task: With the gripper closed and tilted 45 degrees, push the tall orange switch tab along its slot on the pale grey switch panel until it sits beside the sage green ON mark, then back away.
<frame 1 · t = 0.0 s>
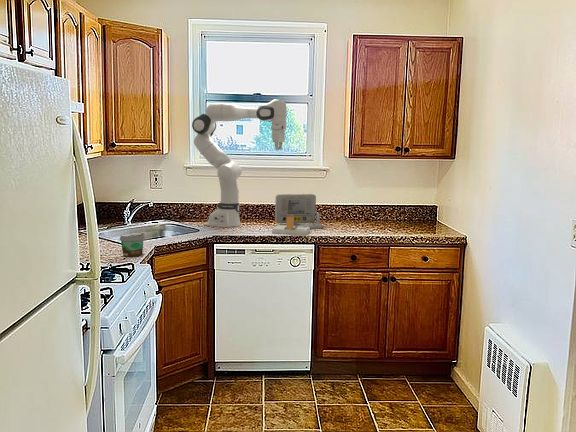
hand: (278, 149, 334), 48 cm above the countertop, tool pointing down, fingers open, 8 cm apart
food container: (135, 256, 257), on the countertop
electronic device: (310, 228, 344), on the countertop
switch tab: (290, 221, 323), point 7 cm above the countertop, slide at 0.0 cm
network device: (295, 225, 351), on the countertop
switch panel: (291, 232, 328), on the countertop
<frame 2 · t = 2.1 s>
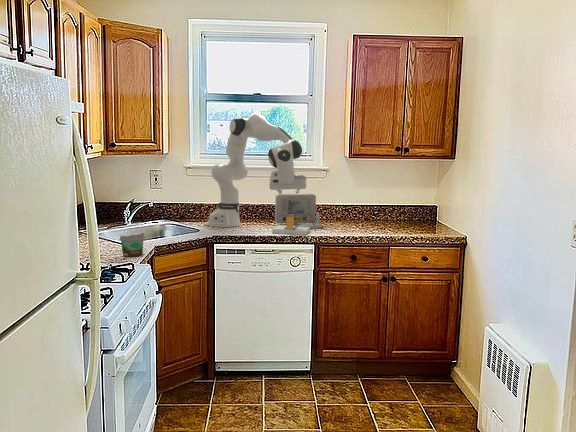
hand: (288, 192, 307), 25 cm above the countertop, tool tilted 40°, fingers open, 8 cm apart
nothing on the countertop moved.
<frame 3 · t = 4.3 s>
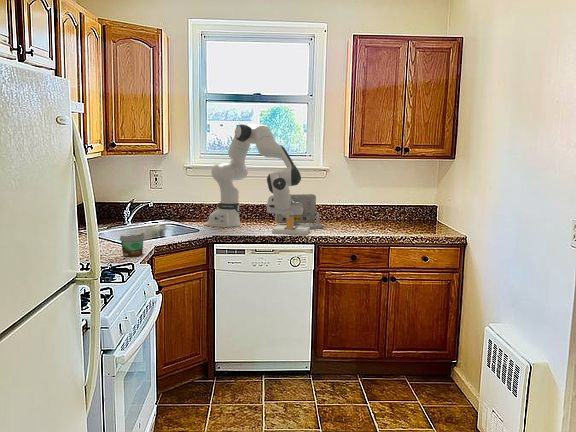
hand: (286, 216, 312), 11 cm above the countertop, tool tilted 45°, fingers closed
nothing on the countertop moved.
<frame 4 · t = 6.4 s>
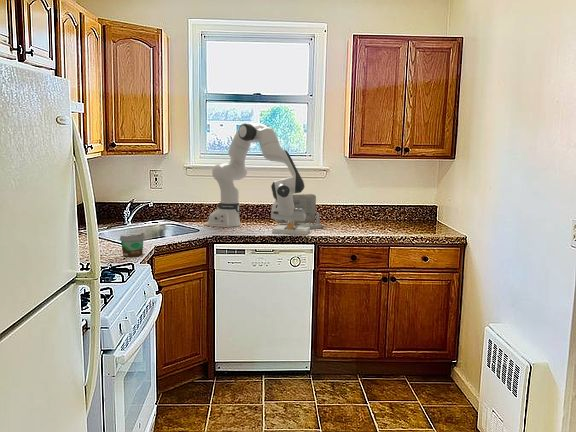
hand: (289, 222, 322), 6 cm above the countertop, tool tilted 45°, fingers closed, pressing on switch tab
switch tab: (290, 221, 324), point 7 cm above the countertop, slide at 1.6 cm, touching gripper
everything else where it was.
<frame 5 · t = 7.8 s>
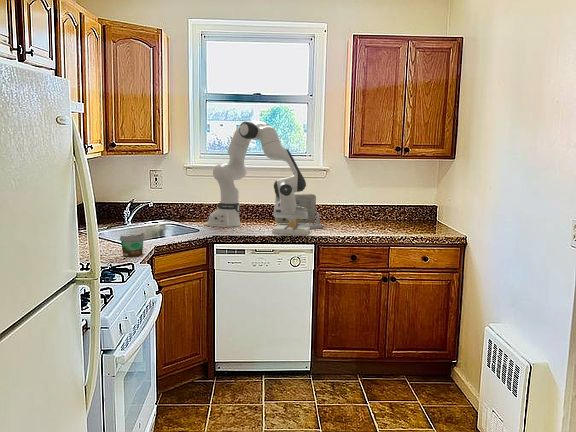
hand: (291, 220, 328), 6 cm above the countertop, tool tilted 45°, fingers closed, pressing on switch tab
switch tab: (292, 219, 330), point 7 cm above the countertop, slide at 7.9 cm, touching gripper
everything else where it was.
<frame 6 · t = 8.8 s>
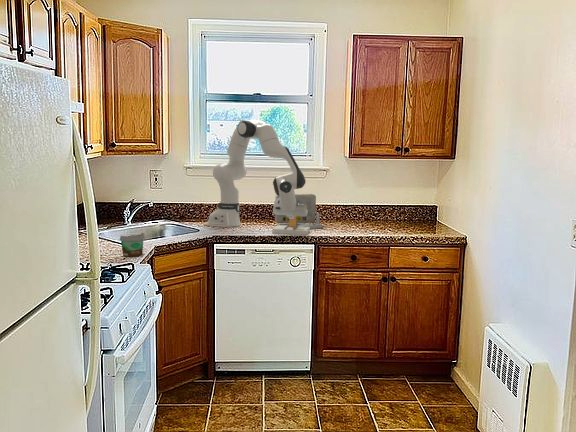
hand: (291, 218, 327), 8 cm above the countertop, tool tilted 45°, fingers closed
switch tab: (292, 219, 331), point 7 cm above the countertop, slide at 8.0 cm
everything else where it was.
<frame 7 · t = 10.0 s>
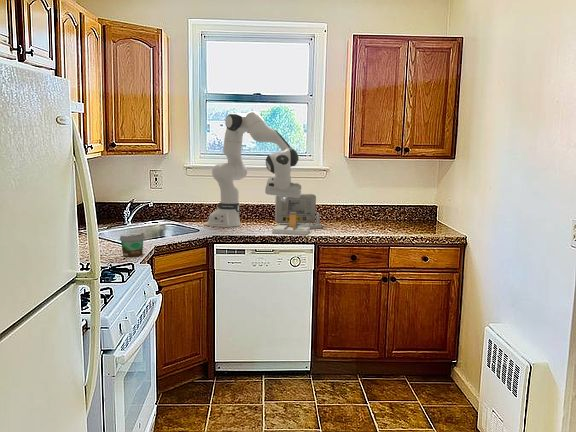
hand: (283, 200, 315), 20 cm above the countertop, tool tilted 35°, fingers closed
nothing on the countertop moved.
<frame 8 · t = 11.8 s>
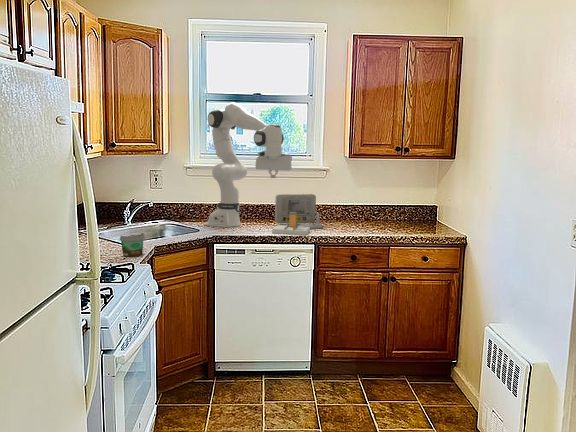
hand: (273, 178, 309), 33 cm above the countertop, tool pointing down, fingers closed
nothing on the countertop moved.
at the end: switch tab slide at 8.0 cm; network device moved 0.2 cm from its start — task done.
